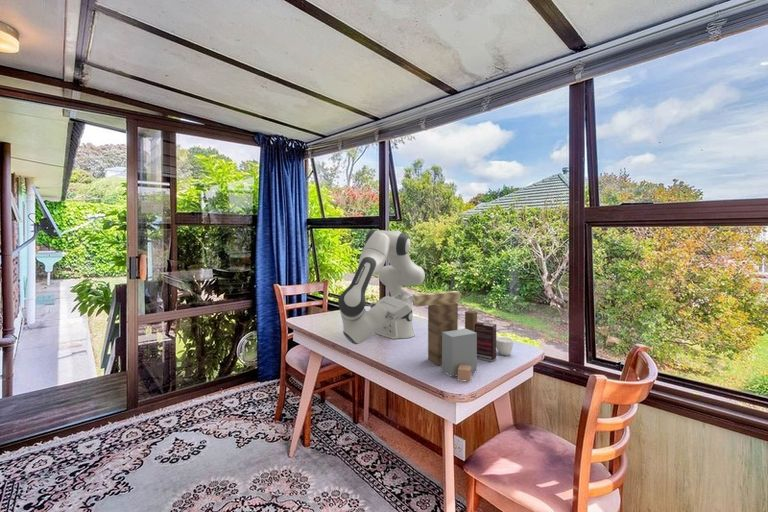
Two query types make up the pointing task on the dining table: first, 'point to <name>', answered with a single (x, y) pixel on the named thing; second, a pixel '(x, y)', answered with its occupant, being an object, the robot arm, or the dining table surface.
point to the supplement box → (486, 341)
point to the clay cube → (464, 372)
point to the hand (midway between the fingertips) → (407, 295)
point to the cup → (504, 345)
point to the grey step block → (459, 350)
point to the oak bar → (436, 298)
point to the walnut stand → (440, 328)
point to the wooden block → (470, 320)
